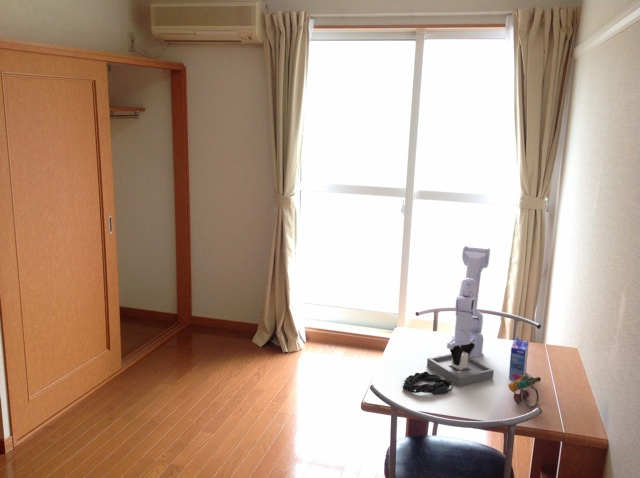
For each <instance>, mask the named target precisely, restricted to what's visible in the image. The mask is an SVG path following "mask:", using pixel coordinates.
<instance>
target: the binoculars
mask: <svg viewBox="0 0 640 478" xmlns="http://www.w3.org/2000/svg"><path fill="white" fill-rule="evenodd" d="M541 380H542V378H541V377H540V376H537V377H534V376H533V377H528V376H527V375H525V376H523V380H522V379H520V380H515V382H511V383H510V382H509V383H508V389H509V390H510V392H512V393H513V400H514V402H515V403H516V404H519V403H523V404H524V405H525V407H529V408H532V407H535V406H537V405H538V403H539V400H540V399H539V392H538V389H537V388H535V387H534V385H535V384H536V383H539V382H541ZM528 387H529V388H531V389H532V390H534V391H535V393H536V394H535V395H536V401H535V403H534V405H529V404H528V403H526V401H525V400H528V399H530V392H529V391H528V390H527V389H526V388H528ZM518 390H519V393H517V391H518Z"/></svg>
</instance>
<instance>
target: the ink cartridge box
mask: <svg viewBox="0 0 640 478" xmlns="http://www.w3.org/2000/svg"><path fill="white" fill-rule="evenodd" d="M529 343H530V342H529V340H528V341H527V340H521V339H520V338H519V336H516V338H514V340H513V342H512V344H511V348H510V361H509V370H508V371H509V372H508V373H509V374H508V379H510V380H515V381H516V380H520V379H522V380H523V376H526V372H527V365H528V354H529Z"/></svg>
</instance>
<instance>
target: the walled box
mask: <svg viewBox="0 0 640 478" xmlns="http://www.w3.org/2000/svg"><path fill="white" fill-rule="evenodd" d="M426 368H428V369H430V370H431V371H432V372H434V373H435V374H436V375H437V374H438V376H439V377H441V378H443V379H447V380H449V381H451V382H452V385H454V386H457V387H458V388H461V387H464V386H469V385H473V384H478V383H482V382H485V381H490V380H491V381H492V380H494V371H495V370H494V369H492V368H490V367H489V366H488V365H485V364H484V363H481V362H480V361H478V360H476V359H475V358H474V357H469V358H468V363H467V367H466V368H464V369H461V370H462V371H457V370H458V369H457V368H455V367H453V366H452V354H451V353H447V354H442V355H438V356H432V357H427V360H426Z"/></svg>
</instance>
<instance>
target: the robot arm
mask: <svg viewBox="0 0 640 478" xmlns="http://www.w3.org/2000/svg"><path fill="white" fill-rule="evenodd" d="M490 253H491V249H490V248H489V246H488V247H485V246H478V245H477V246H475V245H468V244H465V245H463V248H462V256H461V258H462V262H463V264H464V266H466V272H465V273H466V275H465V279H463V280H462V281H461V285H460V290H459V295H458V296H457V297H456V299H455V327H454V335H453V336H452V337H451V338H452V339H451V340H450V341H449V342H447V344H446V348H447V349H449V352H450V354H452V358H453V364H455V365H457V366H458V365H459V363H460V359H461V355H462V353H463V351H464V352H466V353H468V358H469V357H471V358H474V357H479V356H483V355H484V353H483V346H484V336H483V334H482V331H483V325H484V324H483V323H484V322H483V321H484V320H483V319H484V318H483V317H484V315H483V313H482V312H481V311H480V310H479V309H478V302H479V301H478V300H479V293H480V282H481V274H482V271H483V270H484V269H486V268H488V266H489V261H490V255H491V254H490Z"/></svg>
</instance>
